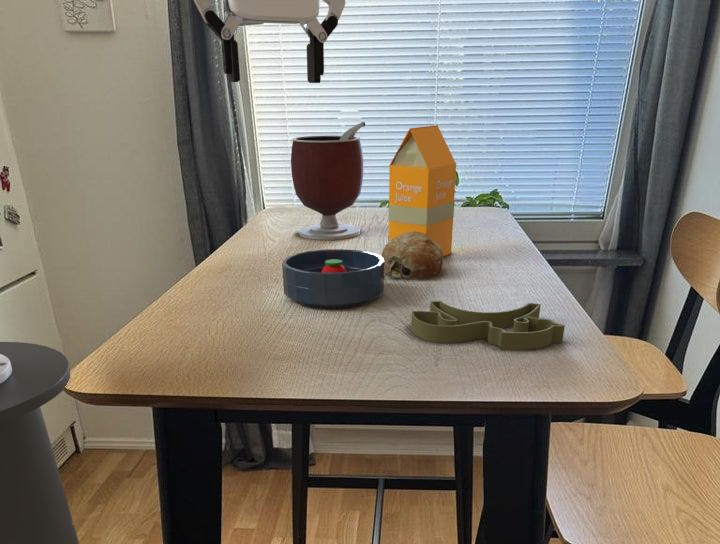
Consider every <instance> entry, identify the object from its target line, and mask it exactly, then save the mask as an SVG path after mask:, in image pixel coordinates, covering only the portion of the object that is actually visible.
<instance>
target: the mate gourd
mask: <svg viewBox="0 0 720 544" xmlns="http://www.w3.org/2000/svg"><path fill="white" fill-rule="evenodd" d="M363 127H366V122H365V121H361V122H359V123H357V124H355V125H353V126H352V127H350V128H349V129H347V130H346V131H344V133H343V134H342V135H338V134H337V135H334V134H333V135H329V134H327V135H305V136H296V137H293V138H292V144H291V154H290V170H291V179H292V183H293V188H294V192H295V196H296V197H297V198H298V199H299V201H300V202H301V204H302V205H303V206H304V207H306V208H308V209H310V210H313V211H314V212H317V213H318V214H320V215H321V219H320V222H319V224H313V225H307V226H303V227H301V228H299V229H298V235H299V236H300V237H302V238H305V239H310V240H320V241H321V240H323V241H329V240H330V241H331V240H345V239H351V238H354V237H357V236H360V234H361V229H360V227H358V226H355V225H352V224H345V223H344V224H341V223H339V221H338V218H337V216H336V215H337V214H339V213H340V212H342V211H344V210H346V209H348V208H350V207H352V206H353V205H354V204H355V203H356V201H357V200H358V198H359V196H360V195H361V192H362V187H363V183H364V174H365V173H364V170H365V168H364V164H365V163H364V162H365V161H364V160H365V159H364V154H363V147H362V143H361V142H362V141H361V136H356V134H357V133H358V131H359V130H360V129H361V128H363Z"/></svg>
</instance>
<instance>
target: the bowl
mask: <svg viewBox="0 0 720 544" xmlns="http://www.w3.org/2000/svg"><path fill="white" fill-rule="evenodd" d="M331 259H338V260H342V266H344V268H345V269H346V271H347V272H329V273H325V272H322V269H323V268H324V267H325V266H326V265H325V261H327V260H331ZM281 270H282V271H281V272H282V284H283V294H284V295H285V296H286V297H287V298H288V299H290V300H292V301H295V302H297V303H298V304H301V305H303V306H307V307H313V308H320V309H321V308H322V309H342V308H343V309H344V308H350V307H351V308H352V307H356V306H361V305H364V304H366V303H369V302H371V301H372V300H374V299H376V298H379V297H380V296H382V294H383V293H384V292H385V272H384V260H383V257H382V255H379V254H377V253H373V252H370V251H365V250H359V249H343V248H335V249H334V248H333V249H329V248H328V249H317V250H316V249H315V250H308V251H302V252H297V253H294V254H291V255H288V256H287V257H285V258H284V259H282V262H281Z"/></svg>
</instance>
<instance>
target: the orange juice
mask: <svg viewBox="0 0 720 544" xmlns="http://www.w3.org/2000/svg"><path fill="white" fill-rule="evenodd" d="M388 167H389V169H388V171H389V172H388V174H389V175H388V177H389V178H388V181H389V182H388V242H389V241H390V240H391V239H392V238H395V237H397V236H399V235H401V234H404V233H408V232H413V231H415V232H421V233H425V234H426V235H428V236H429V237H431V238H432V239H433V240H434V241H435V242H436V243H437V244H439V245H440V246H441V249H442V251H443V257H445V256H449V255H450V254H452V247H453V246H452V245H453V243H452V242H453V227H454V218H455V216H454V215H455V193H456V176H457V175H456V174H457V162H456V161H455V158H454V157H453V155H452V153H451V151H450V148H449V146H448V145H447V142H446V140H445V138H444V135H443V133H442V131H441V129H440V127H439V124H436V125H427V126H419V127H409V129H408V130H407V133H406V135H405V137H404V138H403V140H402V141H401V144H400V146H398V149H397V151H396V153H395V154H394V156H393V158H392V160H391V162H390V163H389V166H388Z"/></svg>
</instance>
